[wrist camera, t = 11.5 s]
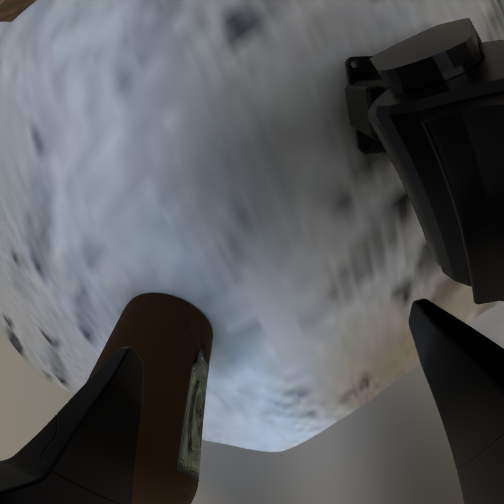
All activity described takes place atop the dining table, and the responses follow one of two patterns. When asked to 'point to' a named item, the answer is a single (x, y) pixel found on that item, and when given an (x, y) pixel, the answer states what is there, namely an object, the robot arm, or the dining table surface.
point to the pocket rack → (12, 8)
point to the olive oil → (166, 393)
